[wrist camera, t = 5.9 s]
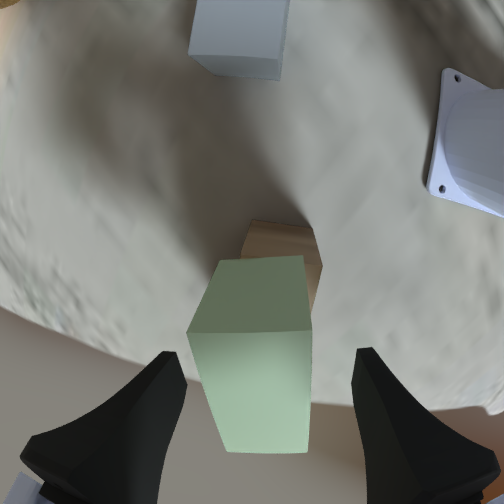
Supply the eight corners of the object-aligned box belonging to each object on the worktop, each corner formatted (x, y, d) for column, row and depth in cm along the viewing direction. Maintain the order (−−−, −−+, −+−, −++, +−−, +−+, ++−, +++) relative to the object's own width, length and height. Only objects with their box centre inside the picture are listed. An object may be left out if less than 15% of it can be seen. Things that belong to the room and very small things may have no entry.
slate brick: (231, -24, 11) (214, -67, 7) (292, -20, 11) (294, -65, 6) (215, 75, 14) (187, 55, 9) (279, 81, 14) (278, 59, 9)
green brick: (220, 259, 13) (186, 332, 8) (302, 255, 12) (312, 329, 8) (241, 375, 15) (226, 451, 11) (305, 374, 15) (307, 452, 10)
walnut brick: (252, 219, 17) (240, 253, 12) (312, 228, 17) (322, 265, 12) (240, 318, 20) (228, 370, 15) (291, 325, 20) (291, 379, 15)
